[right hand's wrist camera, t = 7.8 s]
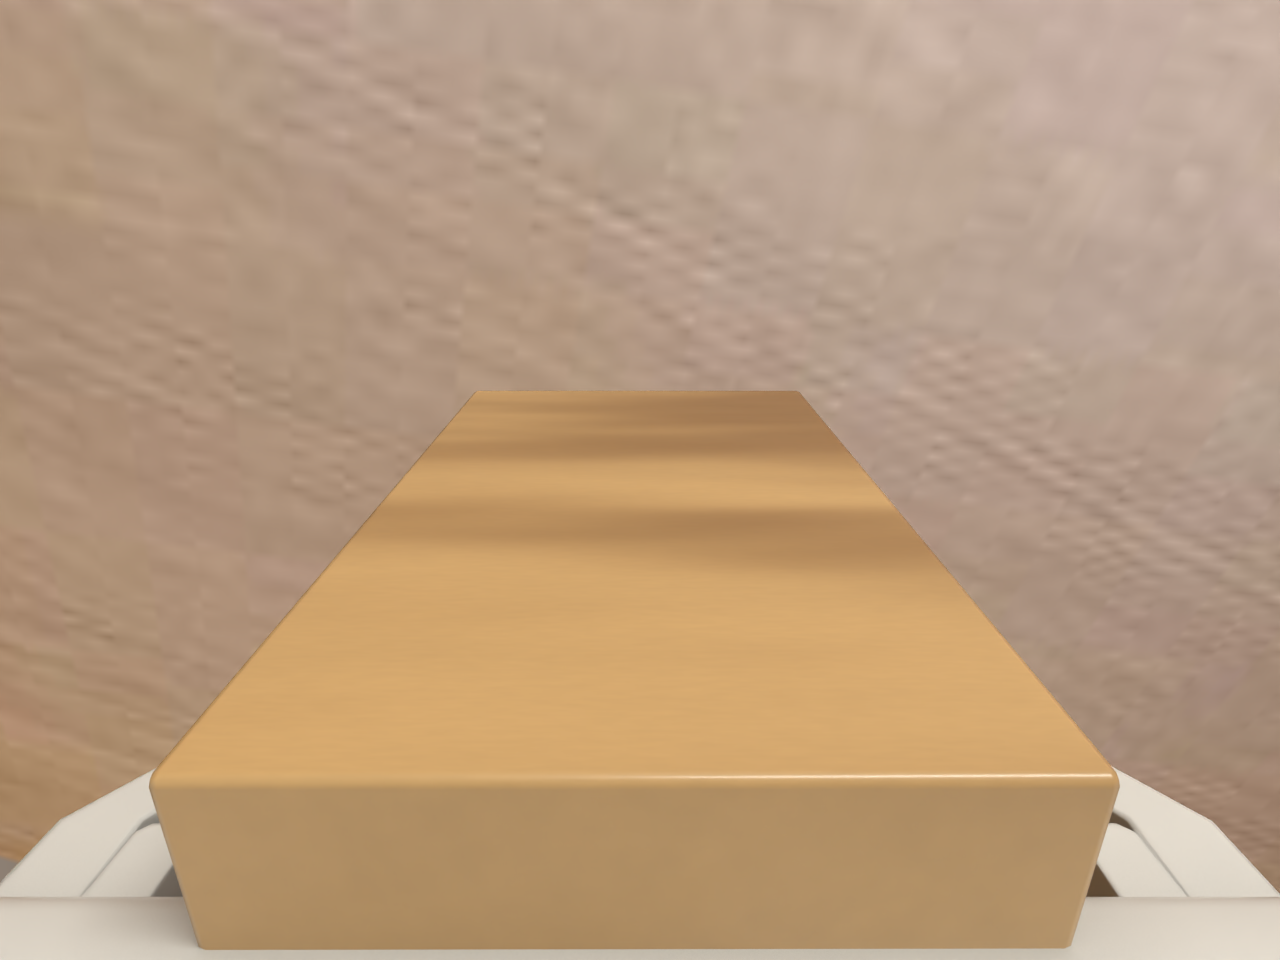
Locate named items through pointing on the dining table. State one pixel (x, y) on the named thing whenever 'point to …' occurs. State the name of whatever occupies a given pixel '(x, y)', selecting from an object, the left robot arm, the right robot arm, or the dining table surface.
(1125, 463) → the dining table surface
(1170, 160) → the dining table surface
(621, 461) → the box
